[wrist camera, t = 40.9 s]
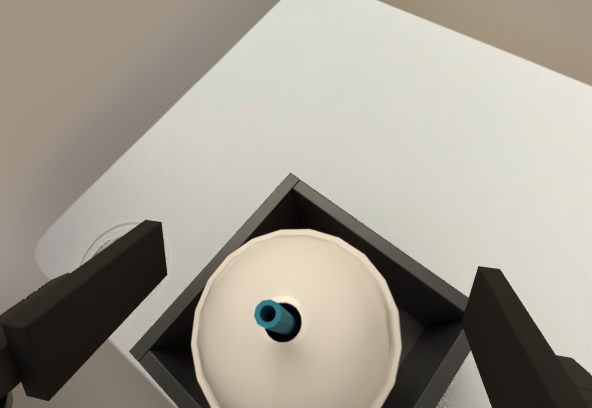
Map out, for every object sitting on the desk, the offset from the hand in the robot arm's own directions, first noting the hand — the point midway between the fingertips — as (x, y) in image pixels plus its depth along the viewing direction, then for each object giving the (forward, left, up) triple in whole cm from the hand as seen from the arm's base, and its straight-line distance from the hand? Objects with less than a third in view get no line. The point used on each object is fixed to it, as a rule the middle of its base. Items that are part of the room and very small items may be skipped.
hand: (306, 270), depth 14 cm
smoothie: (0, -2, -14) cm, 14 cm away
